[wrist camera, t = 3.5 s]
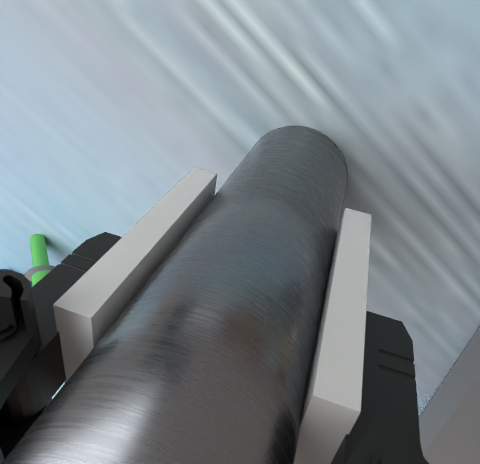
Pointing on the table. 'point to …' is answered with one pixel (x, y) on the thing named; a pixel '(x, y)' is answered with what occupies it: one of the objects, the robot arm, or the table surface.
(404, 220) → the table surface
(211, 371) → the pin
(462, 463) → the nut plate
